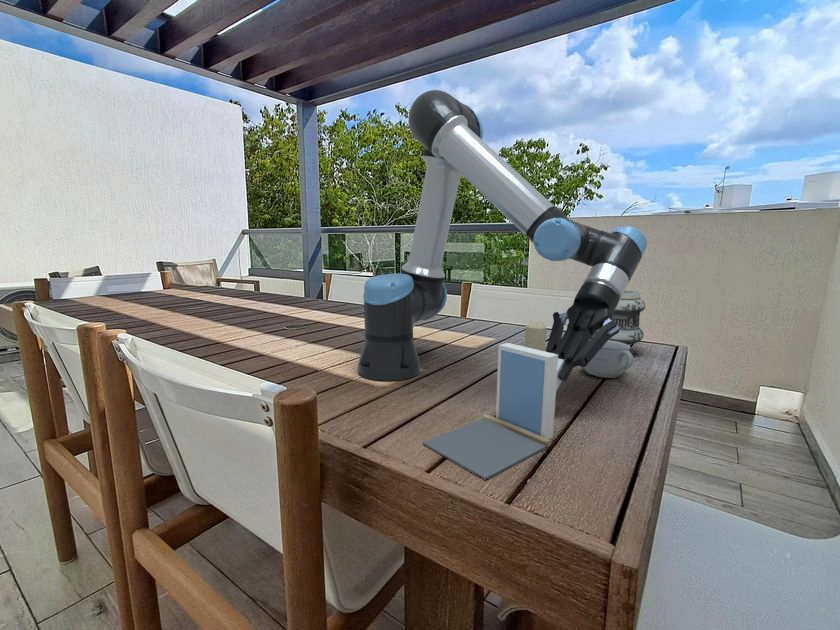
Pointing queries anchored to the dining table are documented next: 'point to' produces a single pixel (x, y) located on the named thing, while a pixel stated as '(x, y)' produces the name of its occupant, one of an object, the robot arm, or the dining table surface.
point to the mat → (484, 448)
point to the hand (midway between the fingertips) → (546, 392)
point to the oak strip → (517, 430)
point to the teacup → (610, 360)
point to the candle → (535, 335)
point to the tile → (527, 388)
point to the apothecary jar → (628, 319)
